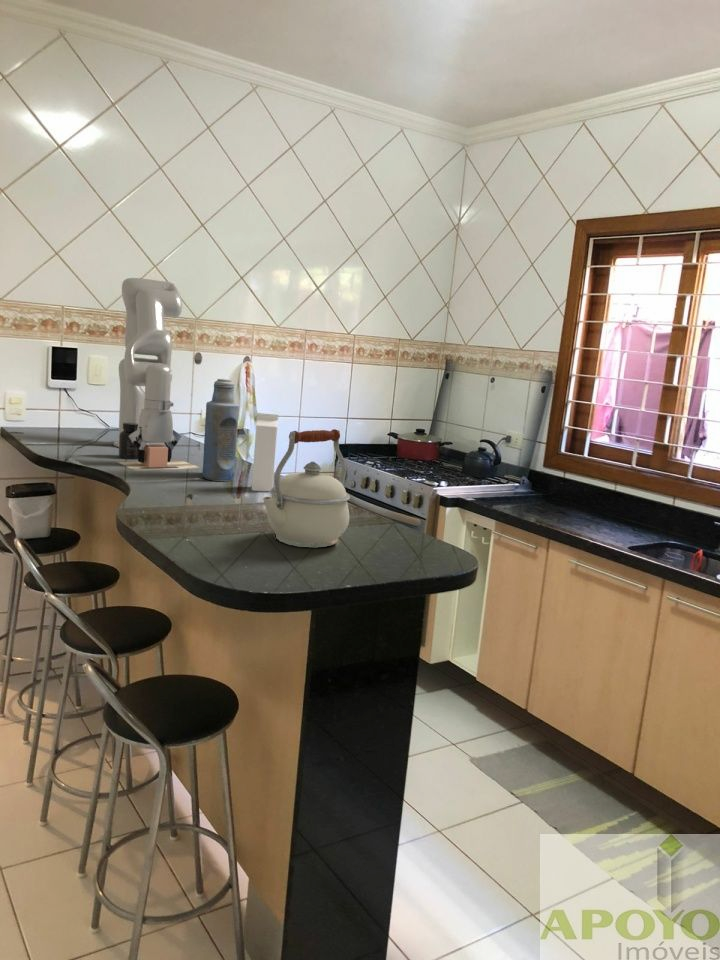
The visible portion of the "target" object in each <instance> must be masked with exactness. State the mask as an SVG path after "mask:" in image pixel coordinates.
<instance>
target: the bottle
mask: <svg viewBox="0 0 720 960" xmlns="http://www.w3.org/2000/svg"><path fill="white" fill-rule="evenodd" d="M234 391H235V383H234V382H233V381H232V380H231V379H227V378H226V379H225V378H217V379H216V381H214V383H213V393H212V396H211V397H212V398H211V400H210V401H206V403H205V404H206V405H205V420H204V422H205V424H204V439H203V440H204V441H203V456H202V475H201V476H203V477H202V478H203V479H205V480H207V481H208V480H209V481H213V482H229V481H233V480H234V479H235V470H236V462H237V461H236V459H237V458H236V457H237V443H238V428H239V426H238V425H239V412H240V405H239V403H235V402H234V401H235V395H234Z"/></svg>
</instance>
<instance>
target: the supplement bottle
mask: <svg viewBox="0 0 720 960" xmlns="http://www.w3.org/2000/svg"><path fill="white" fill-rule="evenodd" d="M137 429H138V424H137V423H123V431H122V432H120V434H119V433H118V434H119V436H118V438H119V447H118V458H119V459H120V460H121V459H123V460H130V461H131V460H135V461H136V460H138V459H137V448H136V447H135V446H134V444H133V443H132V441H131V440H130V438H129V435H130V434H132V433H133V432H135V431H136V430H137ZM136 440H137V442H139V441H140V440H138V439H137V437H136Z"/></svg>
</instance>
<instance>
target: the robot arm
mask: <svg viewBox="0 0 720 960" xmlns="http://www.w3.org/2000/svg"><path fill="white" fill-rule="evenodd" d="M121 296H122V301H123V304H124V307H125V312H126V318H125V319H126V320H125V331H124V333H125V334H124V346H125V351H124V356H123V357H124V358H123V359H122V360H120V362H119V363H118V376H119V377H118V378H119V388H120V389H119V415H118V419H119V420H118V422H119V423H118V435H117V436H118V438H117V439H118V440H116V441H113V446H115V447H117V448H119V434H120V432H122V431H123V423H137V424H138V429H137V430H136V431H135V432H133V433H132V434H130V435H129V438H130V440H131V441H132V443H133V444H134V446H135V447H136V448H137V459H136V460H137V462H141V463H144V456H145V450H143V448H144V447H145V445H151V444H150V443H163V444H164V446H165V447H167V448H168V461H167V462H170V461H171V459H172V456H173V455H172V453H173V450H174V447H176V446H177V444H178V442H179V441H180V440H181V438H182V436H181V435H180V434H179V433H178V432H177V431H175V430H174V428H173V427H174V423H173V415H172V414H173V413H172V411H171V407H174V402H172V401H171V385H172V380H173V370H172V369H171V365H172V364H171V362H172V354H173V353H172V350H173V339H172V334H171V333H170V331H168V330H167V329H166V328H165V326H166V325H165V317H166V318H179V316H180V315H181V314H182V309H183V302H182V297H181V293H180V292H179V290H178V288H177V286H176V285H175V284H174V283H172V282H170V281H163V280H157V279H156V280H155V279H149V278H143V277H142V278H141V277H129V278H128V277H127V278H125V279H124V280H123V281H122V284H121ZM135 355H141V356H151V357H153V356H155V357H156V358H145V357H137V356H135ZM142 387H144V389H142ZM136 437H137V439H138V440H140V441H139V442H137V440H136ZM173 437H174V438H173Z"/></svg>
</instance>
